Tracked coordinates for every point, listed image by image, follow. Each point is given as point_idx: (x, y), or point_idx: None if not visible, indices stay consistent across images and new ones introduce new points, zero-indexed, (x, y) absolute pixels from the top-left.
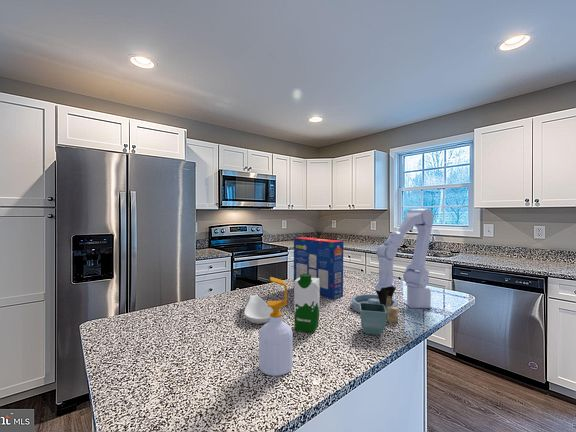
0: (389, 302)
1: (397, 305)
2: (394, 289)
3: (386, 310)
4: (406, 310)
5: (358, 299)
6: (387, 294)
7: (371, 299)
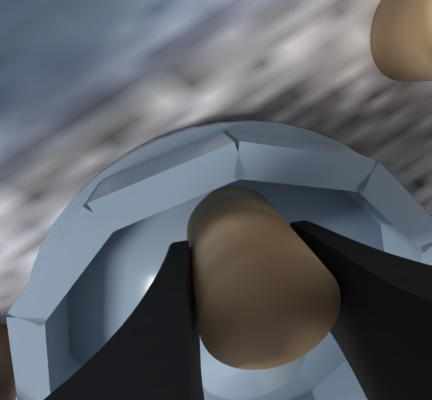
0: (265, 219)
1: (105, 185)
2: (137, 394)
3: (358, 154)
4: (18, 108)
5: None
6: (417, 288)
7: (254, 381)
